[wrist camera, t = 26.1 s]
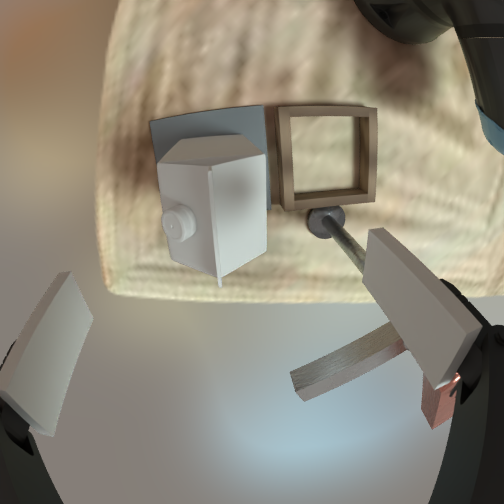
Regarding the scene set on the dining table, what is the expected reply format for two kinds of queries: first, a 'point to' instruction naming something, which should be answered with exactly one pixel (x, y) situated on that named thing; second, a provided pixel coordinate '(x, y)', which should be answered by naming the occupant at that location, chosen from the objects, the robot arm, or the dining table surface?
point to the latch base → (319, 214)
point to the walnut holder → (333, 197)
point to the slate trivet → (213, 130)
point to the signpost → (366, 352)
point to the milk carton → (214, 202)
